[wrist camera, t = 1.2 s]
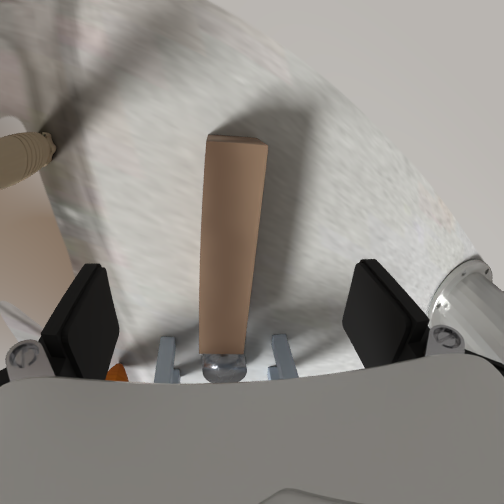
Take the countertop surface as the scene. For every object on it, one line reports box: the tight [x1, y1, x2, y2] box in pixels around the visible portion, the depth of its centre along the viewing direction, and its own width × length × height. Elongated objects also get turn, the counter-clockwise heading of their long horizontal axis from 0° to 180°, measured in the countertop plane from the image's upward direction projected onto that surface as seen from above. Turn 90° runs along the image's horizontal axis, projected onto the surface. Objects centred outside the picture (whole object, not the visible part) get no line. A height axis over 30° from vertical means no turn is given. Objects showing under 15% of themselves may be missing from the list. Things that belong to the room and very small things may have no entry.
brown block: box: [199, 135, 268, 354], centre depth 25 cm, size 4×18×6 cm, turn 174°
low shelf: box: [154, 334, 299, 384], centre depth 29 cm, size 14×7×12 cm, turn 87°
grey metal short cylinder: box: [203, 354, 247, 383], centre depth 34 cm, size 5×5×2 cm
